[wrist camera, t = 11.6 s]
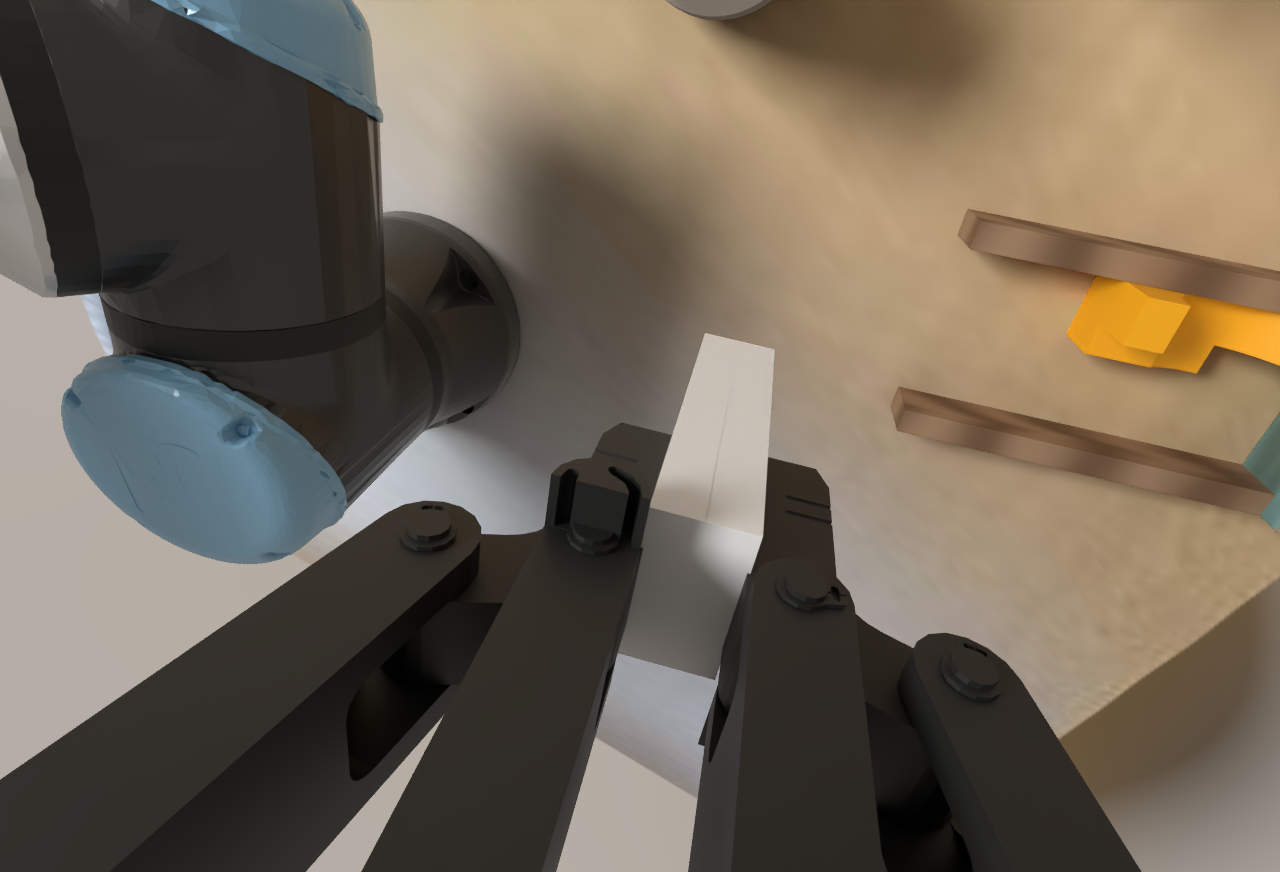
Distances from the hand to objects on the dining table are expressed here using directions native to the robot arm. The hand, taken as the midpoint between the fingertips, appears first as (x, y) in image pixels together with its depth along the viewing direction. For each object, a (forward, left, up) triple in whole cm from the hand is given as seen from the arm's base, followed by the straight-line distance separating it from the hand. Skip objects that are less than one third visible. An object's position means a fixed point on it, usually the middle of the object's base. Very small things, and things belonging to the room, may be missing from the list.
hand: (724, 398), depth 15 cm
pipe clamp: (+25, -3, -31) cm, 40 cm away
